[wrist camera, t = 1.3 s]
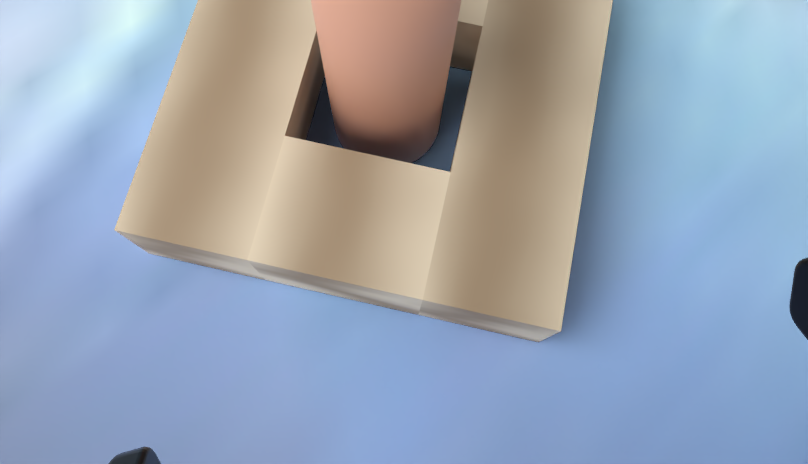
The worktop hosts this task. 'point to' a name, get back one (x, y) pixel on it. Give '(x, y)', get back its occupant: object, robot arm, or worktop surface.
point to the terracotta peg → (386, 71)
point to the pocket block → (379, 167)
